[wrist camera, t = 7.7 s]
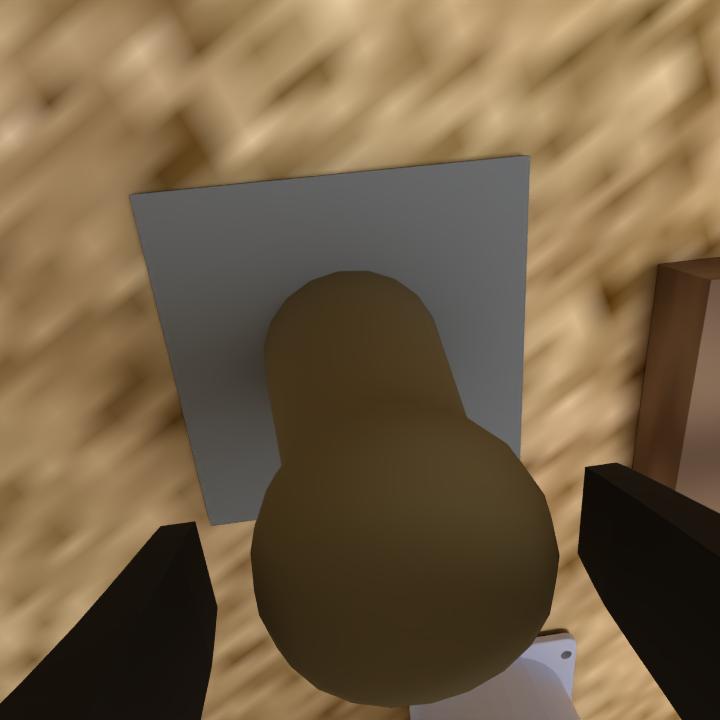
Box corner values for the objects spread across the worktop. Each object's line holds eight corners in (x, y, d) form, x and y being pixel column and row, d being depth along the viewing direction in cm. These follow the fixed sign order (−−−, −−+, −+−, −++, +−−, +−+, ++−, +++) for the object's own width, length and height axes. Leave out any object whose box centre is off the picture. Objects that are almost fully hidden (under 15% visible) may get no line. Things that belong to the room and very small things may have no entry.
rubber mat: (514, 475, 21) (519, 482, 20) (212, 517, 20) (210, 525, 20) (523, 155, 16) (530, 155, 16) (134, 193, 16) (129, 195, 15)
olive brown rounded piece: (353, 465, 19) (411, 814, 9) (225, 362, 17) (116, 662, 7) (475, 353, 18) (699, 610, 8) (353, 229, 16) (443, 360, 6)
